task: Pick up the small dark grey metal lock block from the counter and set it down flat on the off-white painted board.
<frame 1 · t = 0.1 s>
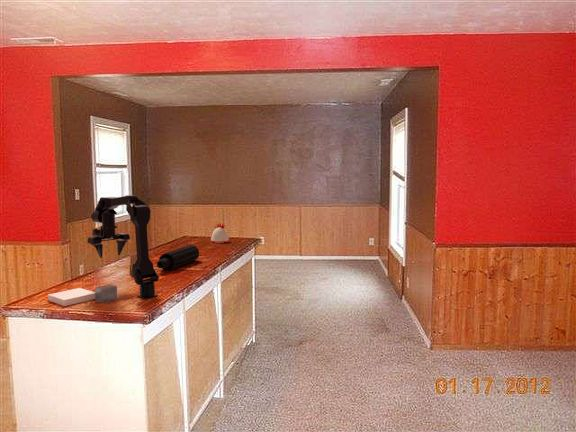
hand: (110, 256, 212), 15 cm above the table, tool pointing down, fingers open, 9 cm apart
roller: (177, 266, 260), on the table
board: (72, 299, 193), on the table
lock block: (106, 300, 191), on the table
ammunition clip: (136, 273, 244), on the table
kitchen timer: (219, 242, 351), on the table
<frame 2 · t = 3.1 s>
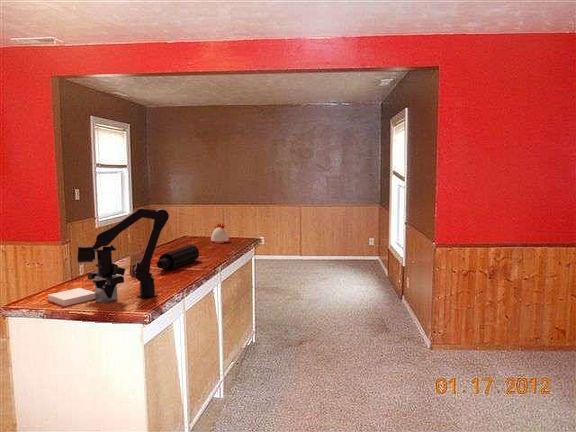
hand: (106, 297, 191), 1 cm above the table, tool pointing down, fingers closed on lock block, 5 cm apart
lock block: (106, 300, 191), on the table, touching gripper
everything else where it was.
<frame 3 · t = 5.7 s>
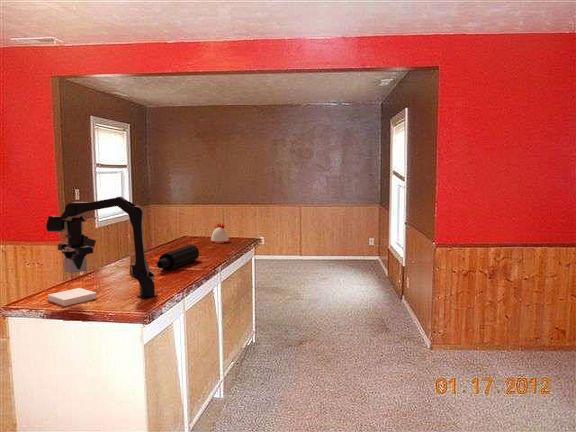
hand: (75, 268, 191), 14 cm above the table, tool pointing down, fingers closed on lock block, 5 cm apart
lock block: (75, 271, 191), point 12 cm above the table, touching gripper
everything else where it was.
when the fingers open (5 cm above the table, at t = 8.3 s): lock block stays where it is, resting on board.
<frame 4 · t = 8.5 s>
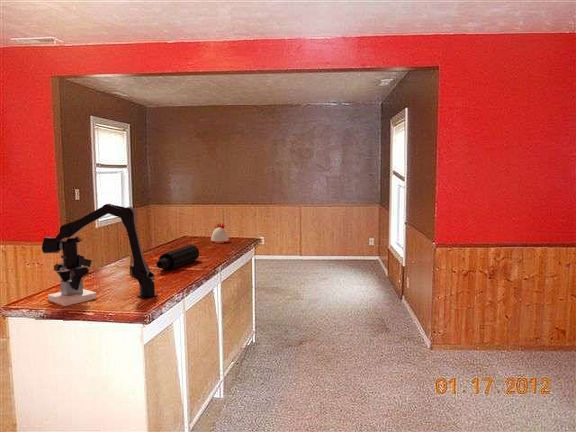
hand: (72, 288, 192), 5 cm above the table, tool pointing down, fingers open, 7 cm apart
lock block: (72, 293, 192), point 2 cm above the table, touching board
everything else where it was.
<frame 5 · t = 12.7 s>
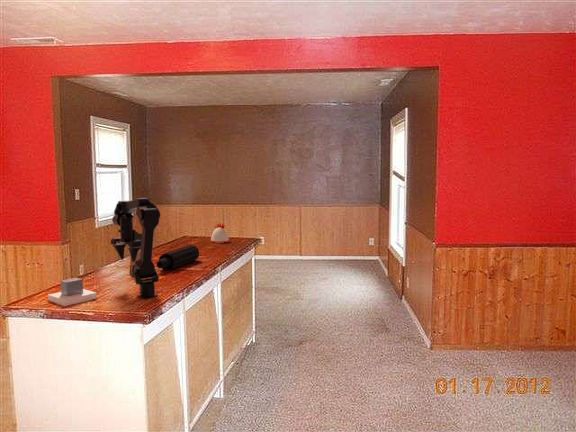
hand: (128, 260, 211), 13 cm above the table, tool pointing down, fingers open, 9 cm apart
nothing on the table moved.
at the end: lock block inside the target area on the board (0.0 cm from its centre), point 2.5 cm above the board's base; lock block tilted 0°; the gripper is holding nothing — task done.
